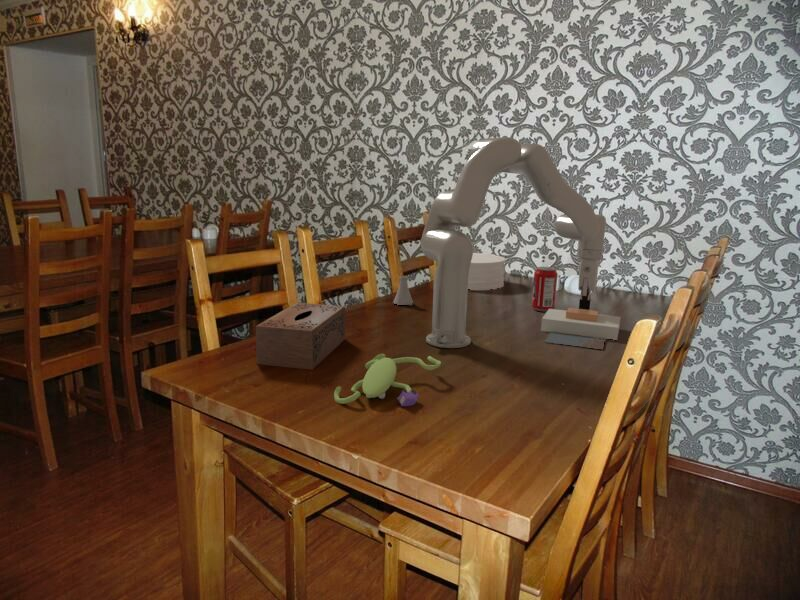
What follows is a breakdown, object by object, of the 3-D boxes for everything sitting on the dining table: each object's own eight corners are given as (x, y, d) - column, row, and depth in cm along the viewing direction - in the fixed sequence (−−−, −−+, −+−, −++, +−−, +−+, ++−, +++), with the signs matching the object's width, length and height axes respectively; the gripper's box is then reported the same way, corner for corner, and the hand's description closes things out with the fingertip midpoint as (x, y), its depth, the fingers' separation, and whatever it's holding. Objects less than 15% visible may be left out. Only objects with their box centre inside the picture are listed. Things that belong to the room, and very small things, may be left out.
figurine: (445, 375, 137) (446, 353, 136) (409, 419, 113) (410, 392, 112) (375, 364, 143) (375, 343, 142) (326, 404, 119) (325, 379, 118)
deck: (616, 340, 167) (618, 327, 166) (540, 331, 175) (541, 318, 174) (619, 329, 180) (620, 316, 179) (548, 320, 188) (549, 308, 187)
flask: (416, 303, 206) (417, 276, 204) (406, 307, 200) (406, 279, 198) (400, 301, 210) (400, 274, 208) (389, 304, 204) (389, 277, 202)
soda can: (545, 313, 196) (549, 270, 193) (527, 309, 202) (530, 267, 199) (558, 310, 202) (562, 268, 198) (540, 306, 207) (543, 265, 204)
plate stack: (434, 288, 234) (435, 260, 231) (441, 276, 261) (442, 251, 258) (504, 292, 230) (505, 264, 227) (503, 279, 256) (505, 254, 254)
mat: (603, 350, 157) (603, 349, 157) (544, 342, 164) (544, 341, 163) (606, 339, 168) (606, 338, 168) (550, 332, 174) (550, 331, 174)
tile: (596, 321, 172) (596, 315, 172) (565, 318, 175) (566, 311, 175) (597, 317, 177) (598, 310, 177) (568, 313, 181) (568, 307, 180)
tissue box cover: (312, 370, 138) (311, 330, 136) (256, 365, 141) (255, 326, 139) (344, 340, 162) (344, 306, 160) (297, 336, 165) (296, 302, 163)
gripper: (600, 258, 170) (594, 318, 174) (603, 252, 183) (598, 307, 188) (574, 256, 173) (569, 315, 177) (579, 250, 186) (574, 305, 190)
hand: (583, 311), depth 182 cm, fingers closed
